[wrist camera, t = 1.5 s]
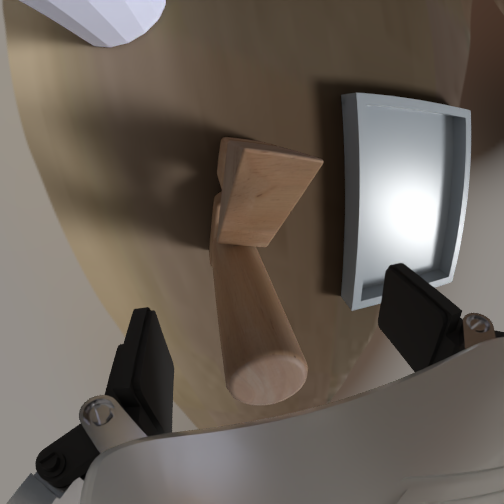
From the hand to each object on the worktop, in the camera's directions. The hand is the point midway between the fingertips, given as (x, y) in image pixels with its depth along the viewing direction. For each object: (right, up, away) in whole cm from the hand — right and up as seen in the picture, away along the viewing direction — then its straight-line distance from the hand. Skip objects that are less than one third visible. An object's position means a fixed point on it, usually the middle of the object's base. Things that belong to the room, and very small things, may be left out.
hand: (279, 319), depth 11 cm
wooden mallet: (-3, +8, +15) cm, 17 cm away
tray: (+16, +9, +18) cm, 26 cm away
